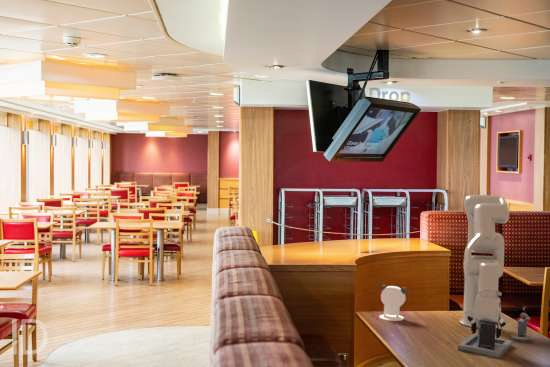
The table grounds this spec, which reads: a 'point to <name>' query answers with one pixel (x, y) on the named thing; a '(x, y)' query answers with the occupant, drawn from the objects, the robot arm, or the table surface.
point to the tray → (472, 347)
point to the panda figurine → (392, 302)
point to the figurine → (522, 330)
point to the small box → (486, 335)
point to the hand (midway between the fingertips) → (485, 335)
